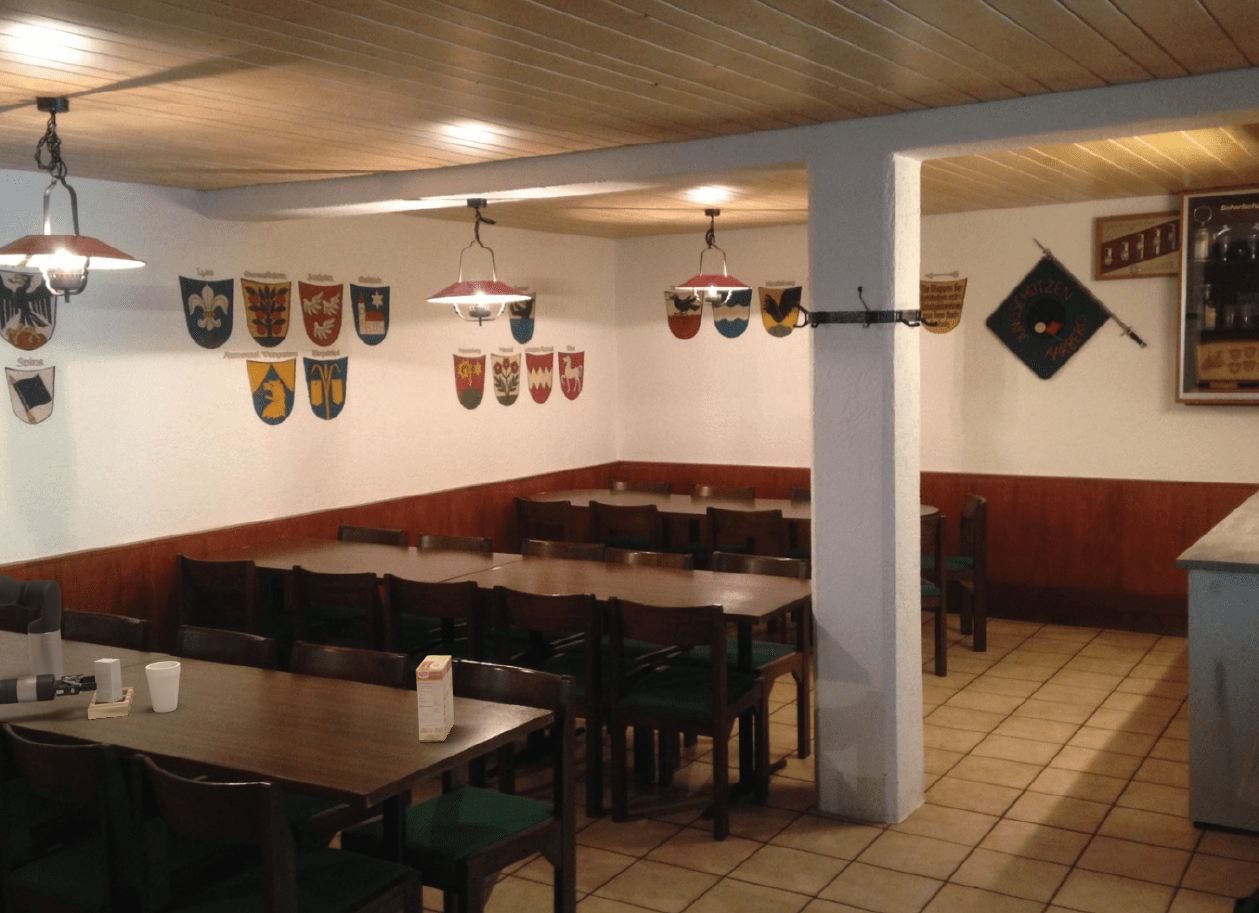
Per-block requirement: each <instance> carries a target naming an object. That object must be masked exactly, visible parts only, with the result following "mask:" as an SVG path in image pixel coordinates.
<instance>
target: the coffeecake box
mask: <svg viewBox="0 0 1259 913" xmlns="http://www.w3.org/2000/svg"><path fill="white" fill-rule="evenodd" d="M452 665H453V664H452V655H448V654H447V655H442V654H441V655H435V654H434V655H432V654H431V655H426V657H425V658H424V659H423V661H422V662H420V664H419V665H418V666H417V668H416V669H415V675H416V693H417V695H416V696H417V713H418V714H417V719H418V740H445V739H446V737H447V735H448V734H449V735H450V733H451V732H450V730H451V728H452V727H453V728H454V726H455V719H454V718H455V717H454V716H455V714H454V694H453V693H454V692H453V667H452ZM453 725H454V726H453ZM453 728H452V729H453ZM451 731H452V730H451ZM449 732H450V733H449ZM449 735H448V736H449ZM447 738H448V737H447ZM446 740H447V739H446ZM446 740H445V741H446Z"/></svg>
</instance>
